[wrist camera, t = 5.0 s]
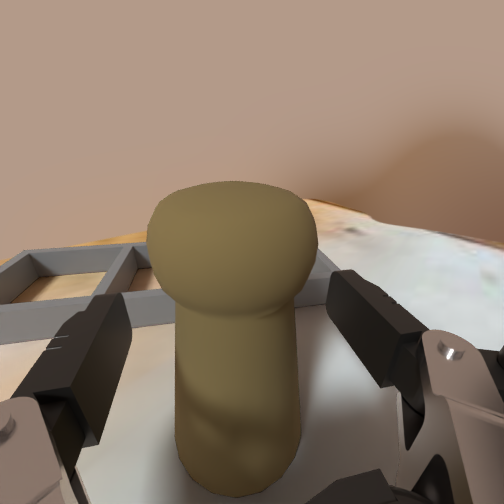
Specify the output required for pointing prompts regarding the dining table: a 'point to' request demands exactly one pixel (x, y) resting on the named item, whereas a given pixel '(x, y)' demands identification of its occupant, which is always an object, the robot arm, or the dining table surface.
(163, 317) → the frame
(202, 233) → the cork
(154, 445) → the dining table surface
